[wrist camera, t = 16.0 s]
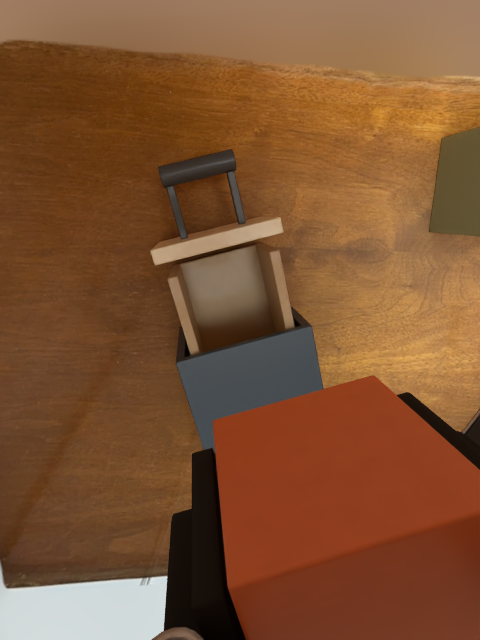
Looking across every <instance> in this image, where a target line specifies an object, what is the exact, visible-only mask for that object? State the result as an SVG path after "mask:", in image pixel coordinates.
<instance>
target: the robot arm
mask: <svg viewBox="0 0 480 640" xmlns="http://www.w3.org/2000/svg"><path fill="white" fill-rule="evenodd" d="M397 396H398V397H399V398H400V399H401V400H402V401H403V402H404V403H406V404H407V405H408V406H409V407H410V408H411V409H412V410H413V411H414V412H416V413H417V414H418V415H419V416H420V417H421V418H422V419H423V420H425V421H426V422H427V423H428V424H429V425H430V426H431V427H432V428H433V429H435V430H436V431H437V432H438V433H439V434H440V435H441V436H442V437H443V438H445V439H446V440H447V441H448V442H449V443H450V444H451V445H452V446H454V447H455V448H456V449H457V450H458V451H459V452H460V453H461V454H462V455H464V456H465V457H466V458H467V459H468V460H469V461H470V462H471V463H472V464H474V465H475V466H476V467H477V468H478V469H479V470H480V446H479V445H478V444H476V443H475V442H474V441H473V440H471V439H470V438H469V437H468V436H466V435H465V434H463V433H462V432H458V431H455V430H454V429H453V428H452V427H450V426H449V425H448V424H447V423H446V422H444V421H443V420H442V419H441V418H440V417H438V416H437V415H436V414H435V413H434V412H432V411H431V410H430V409H429V408H427V407H426V406H425V405H424V404H423V403H421V402H420V401H419V400H418V399H417V398H415V397H414V396H413V395H412V394H410V393H408V392H406V393H403V394H399V395H397ZM152 640H246V639H245V636H244V633H243V630H242V627H241V624H240V621H239V619H238V616H237V613H236V610H235V607H234V604H233V601H232V598H231V595H230V593H229V590H228V586H227V575H226V564H225V553H224V542H223V531H222V520H221V510H220V499H219V488H218V477H217V466H216V455H215V453H214V450H213V448H209V449H206V450H202V451H199V452H195V453H193V454H192V509H189V510H186V511H182V512H179V513H175V514H173V516H172V522H171V535H170V550H169V564H168V578H167V593H166V608H165V622H164V631H163V632H161V633H160V634H159V635H157V636H156V637H155V638H153V639H152Z"/></svg>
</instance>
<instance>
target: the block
mask: <svg viewBox="0 0 480 640" xmlns="http://www.w3.org/2000/svg"><path fill="white" fill-rule="evenodd" d="M213 434H214V444H215V455H216V466H217V477H218V488H219V499H220V510H221V520H222V531H223V542H224V553H225V564H226V575H227V586H228V590H229V593H230V595H231V598H232V601H233V604H234V607H235V610H236V613H237V616H238V619H239V621H240V624H241V627H242V630H243V633H244V636H245V639H246V640H480V470H479V469H478V468H477V467H476V466H475V465H474V464H472V463H471V462H470V461H469V460H468V459H467V458H466V457H465V456H464V455H462V454H461V453H460V452H459V451H458V450H457V449H456V448H455V447H454V446H452V445H451V444H450V443H449V442H448V441H447V440H446V439H445V438H443V437H442V436H441V435H440V434H439V433H438V432H437V431H436V430H435V429H433V428H432V427H431V426H430V425H429V424H428V423H427V422H426V421H425V420H423V419H422V418H421V417H420V416H419V415H418V414H417V413H416V412H414V411H413V410H412V409H411V408H410V407H409V406H408V405H407V404H406V403H404V402H403V401H402V400H401V399H400V398H399V397H398V396H397V395H396V394H394V393H393V392H392V391H391V390H390V389H389V388H388V387H387V386H385V385H384V384H383V383H382V382H381V381H380V380H379V379H378V378H377V377H375V376H369V377H365V378H362V379H358V380H354V381H351V382H347V383H344V384H340V385H337V386H333V387H329V388H326V389H322V390H319V391H315V392H312V393H308V394H305V395H301V396H297V397H294V398H290V399H287V400H283V401H280V402H276V403H272V404H269V405H265V406H262V407H258V408H255V409H251V410H247V411H244V412H240V413H237V414H233V415H230V416H226V417H223V418H219V419H215V420H214V421H213Z"/></svg>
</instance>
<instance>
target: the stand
mask: <svg viewBox="0 0 480 640" xmlns="http://www.w3.org/2000/svg"><path fill="white" fill-rule="evenodd" d="M429 232H435V233H447V234H458V235H470V236H480V127H478V128H475V129H472V130H468V131H465V132H461V133H458V134H455V135H451V136H448V137H444V138H442V142H441V149H440V157H439V164H438V171H437V178H436V185H435V193H434V200H433V207H432V214H431V222H430V229H429Z"/></svg>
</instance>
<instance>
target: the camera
mask: <svg viewBox="0 0 480 640" xmlns="http://www.w3.org/2000/svg"><path fill="white" fill-rule="evenodd" d="M462 433H463V434H465V435H466V436H468V437H469V438H470V439H471V440H473V441H474V442H475V443H476V444H478V445H479V446H480V410H479V411H478V412H477V414H476V415H475V416H474V418H473V419H472V420H471V421H470V423H469V424H468V425H467V427H466V428H465V429H464V430H463V432H462Z"/></svg>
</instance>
